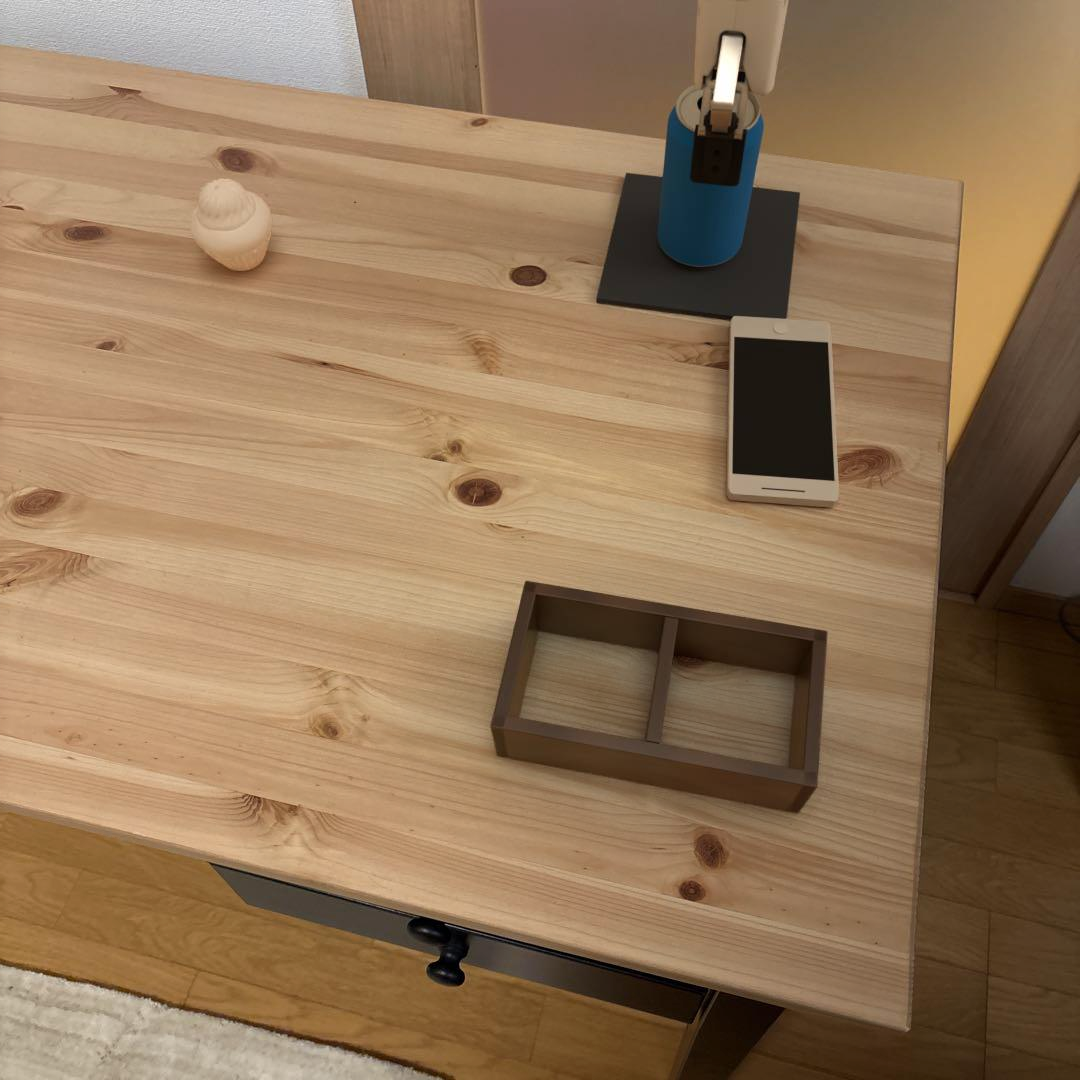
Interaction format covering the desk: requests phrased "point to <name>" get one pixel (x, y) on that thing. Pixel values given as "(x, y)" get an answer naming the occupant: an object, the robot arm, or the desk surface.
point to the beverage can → (704, 189)
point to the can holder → (665, 695)
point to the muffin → (231, 224)
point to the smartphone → (781, 412)
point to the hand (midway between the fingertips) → (722, 134)
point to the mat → (712, 291)
